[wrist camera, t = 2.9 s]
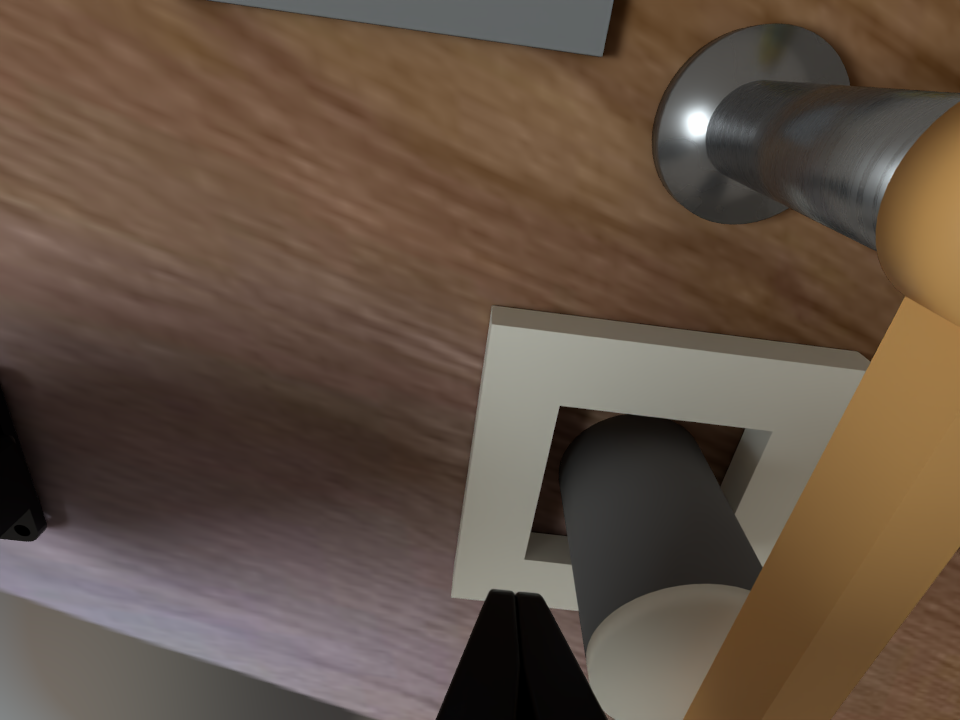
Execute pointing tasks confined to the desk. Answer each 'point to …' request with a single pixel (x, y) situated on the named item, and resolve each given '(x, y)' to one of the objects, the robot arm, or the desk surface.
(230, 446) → the desk surface
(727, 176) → the post
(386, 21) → the mat
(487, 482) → the socket block
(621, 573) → the plug
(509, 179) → the desk surface
